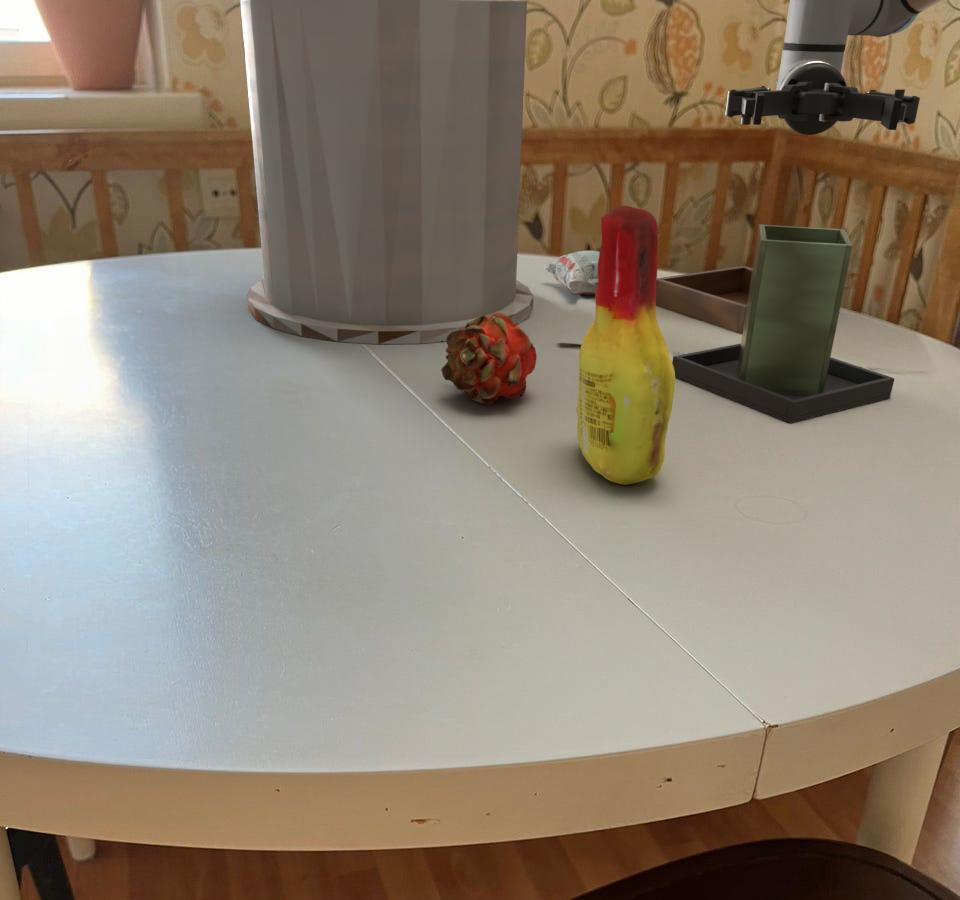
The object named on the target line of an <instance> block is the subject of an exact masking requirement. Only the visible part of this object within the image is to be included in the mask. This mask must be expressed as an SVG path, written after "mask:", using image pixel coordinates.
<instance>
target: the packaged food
mask: <svg viewBox="0 0 960 900" xmlns="http://www.w3.org/2000/svg"><path fill="white" fill-rule="evenodd" d="M599 254H600V250H582V251H581V250H580V251H575V252H571V253H567V254H565V255H561V256H560V257H558V258H557V259H555V261H552V262H549V263H548V264H547V265H546V266H545V267H544V270H545V271H547V272H548V273H551V274H552V275H553V278H554V279H555V280H556V281H557V282H558V283H560V284H561V285H563V286H565V287H566V288H567V289H568V291H570V292H572V293H573V294H576V295H578V296H579V295H580V296H595V294H596V288H597V284H598V260H599Z"/></svg>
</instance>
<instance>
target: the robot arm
mask: <svg viewBox="0 0 960 900" xmlns="http://www.w3.org/2000/svg"><path fill="white" fill-rule="evenodd" d="M943 1H944V0H789V3H788V4H789V5H788V12H787V19H786V25H785V26H786V27H785V33H784V41H783V49H782V51H781V58H780V65H779V73H778V78H776V82H775V90H772V88H771V87H767V86H765V85H760V86H756V87H752V88H745V89H744V88H743V89H742V88H741V89H730V90H727V95H726V96H727V97H726V105H725V112H724V113H725V114H724V116H725V117H727V118H733V117H736V116H741V117H740V125H745V126H749V125H751V122H752V125H753V126H761V124H762V119H763V117H776V116H777V117H778V119H780V120H781V119H782V120H784V122H785V123H786V125H787V126H788V127H789V128H790V129H792V130H793V131H794V132H796V133H798V134H800V135H802V136H814V135H818V134H821V133H822V134H823V133H824V132H826V131H828V130H829V129H831V128H832V127H833V126H834V125H835V124H837V122H851V121H853V120H854V119H857V120H858V119H859V120H866V121H874V122H875V121H876V122H880V125H881V126H883V127H884V128H885V129H887V130H888V131H897V127H898V124H899V123H905V124H906V125H912V124H915V123H916V119H917V116H918V111H919V105H920V101H921V97H920V96H917V95H911V96H910V95H905V93H906V89H904V88H903V89H899V88H897V89H896V88H895V90H894V93H888V92H882V91H878V90H876V89H871V90H868V91H865V93H864V92H859V89H858V88H857V87H855V86H854V87H853V86H848V85H847V82H846V79H845V78H844V75H842V73H841V72H842V67H843V63H844V57H845V51H846V46H847V41H848V36H869V37H874V38H875V37H876V38H883V37H887V36H889V35H895V34H898V33H900V32H903V31H904V30H906V29H907V28H908V27H910V25H911V24H912V23H913V22H914V21H915V19H916V18H917V17H918V16H919V14H920V13H922V12H924V11H926V10H928V9H929V8H931V7H933V6H935V5H937V4H939V3H941V2H943Z"/></svg>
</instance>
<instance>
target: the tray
mask: <svg viewBox="0 0 960 900" xmlns="http://www.w3.org/2000/svg"><path fill="white" fill-rule="evenodd" d="M740 347H741V342H740V343H735V344H730V345H725V346H720V347H715V348H710V349H704V350H700V351H695V352H689V353H684V354H679V355H673V356H672V360H671V361H672V364H673V367H674V371H675V379H678V380H680V381H684V382H686V383H689V384H691V385H694V386H696V387H698V388H701V389H703V390H706V391H708V392H711V393H713V394H716V395H718V396H721V397H724V398H726V399H728V400H730V401H731V400H732V401H734V402H736V403H739V404H741V405H742V406H743V405H744V406H745V407H749V408H751V409H754V410H756V411H758V412H761V413H763V414H766V415H769V416H770V417H773V418H776V419H779V420H781V421H783V422H786V423H789V424H792V423H797V422H801V421H804V420H808V419H813V418H816V417H817V418H818V417H820V416H824V415H829V414H832V413H837V412H840V411H844V410H848V409H852V408H856V407H860V406H863V405H868V404H871V403H875V402H879V401H882V400H888V399H890V398H891V395H892V391H893V386H894V383H895V378H894V377H892V376H889V375H886V374H883V373H880V372H877V371H874V370H871V369H868V368H865V367H862V366H858V365H856V364H853V363H849V362H846V361H843V360H840V359H837V358H834V357H830V362H829V367H828V372H827V377H826V382H825V387H824V392H823V393H820V394H815V395H811V396H797V395H785V394H778V393H775V392H772V391H770V390H767V389H764V388H762V387H759V386H756V385H754V384H751V383H748V382H746V381H743V380H740V379H738V360H739V354H740Z"/></svg>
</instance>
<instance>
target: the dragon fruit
mask: <svg viewBox="0 0 960 900" xmlns="http://www.w3.org/2000/svg"><path fill="white" fill-rule="evenodd" d="M445 342H446V344H447V348H445V352H446V356H445V359H446V360H447V362H446V363H445V365H443V366H442V367H441V369H440V371H441V374H442V378H443V379H444V380H445V381H450V382H452V383H453V385H454V387H455V388H456V389H457V390H459V391H461V392H464V393H465V394H467V395H468V396H469V397H470V399H471V400H472V401H474V402H476V403H480V404H482V405H484V406H491V405H492V404H494V403H496V401H498V399H499V397H505V398H506V399H508V400H511V399H514V398H516V399H518V400H520V399H521V398H522V397H523V396H524V395H525V393H526V388H527V377H528V376H529V375H530V374H532V373H533V371H534V370H535V369H536V366H537V365H536V364H537V358H538V357H537V350H536V347H535V346H534V344H533V343H532V342H531V340H530V337H529V336H528V334H527V333H526V331H524V330H523V329H521V327H520V326H519V325H518V324H517V325H516V324H515V323H514V322H513V321H512V319H511V318H510V317H508V316H506V315H504V314H502V313H494V314H492V315H491V316H490V317H489V318H487V317H485V316H481V317H479V318H476V319H475V320H473V321H471V322H469V323H467V325H466V326H465V330H458V331H454V332H451V333H450V334H449V335H448V336H447V338H446V341H445Z"/></svg>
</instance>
